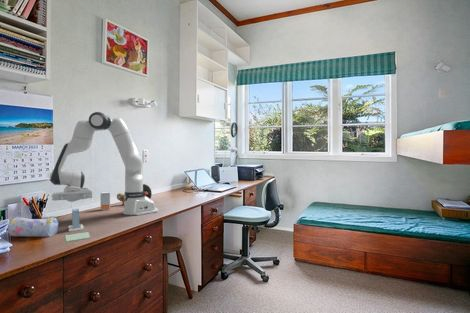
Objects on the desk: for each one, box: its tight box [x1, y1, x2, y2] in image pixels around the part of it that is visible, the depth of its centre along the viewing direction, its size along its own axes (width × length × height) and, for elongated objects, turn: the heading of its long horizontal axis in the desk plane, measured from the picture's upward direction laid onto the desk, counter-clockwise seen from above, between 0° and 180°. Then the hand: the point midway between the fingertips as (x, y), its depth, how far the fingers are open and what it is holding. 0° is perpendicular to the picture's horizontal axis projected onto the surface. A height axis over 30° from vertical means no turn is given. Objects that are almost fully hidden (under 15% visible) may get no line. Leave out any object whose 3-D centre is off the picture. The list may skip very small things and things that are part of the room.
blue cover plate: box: [71, 208, 80, 229], centre depth 149 cm, size 3×4×10 cm, turn 32°
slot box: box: [67, 223, 85, 233], centre depth 149 cm, size 7×8×2 cm
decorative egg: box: [143, 183, 152, 200], centre depth 215 cm, size 12×12×15 cm
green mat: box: [65, 231, 91, 243], centre depth 137 cm, size 10×10×1 cm
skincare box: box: [100, 191, 111, 211], centre depth 196 cm, size 6×4×12 cm
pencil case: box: [7, 216, 60, 238], centre depth 139 cm, size 21×9×10 cm, turn 91°
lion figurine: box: [116, 192, 125, 206], centre depth 212 cm, size 15×5×9 cm, turn 115°
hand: (73, 197), depth 159 cm, fingers open, 8 cm apart
